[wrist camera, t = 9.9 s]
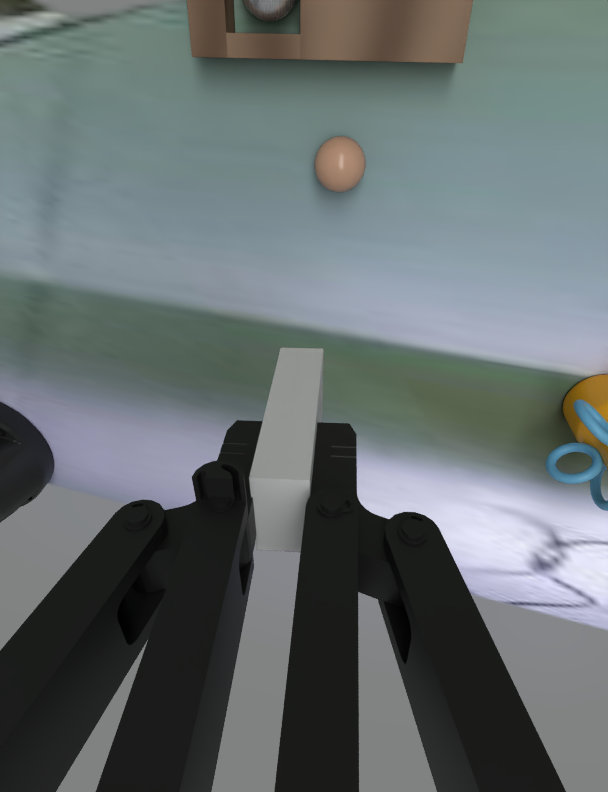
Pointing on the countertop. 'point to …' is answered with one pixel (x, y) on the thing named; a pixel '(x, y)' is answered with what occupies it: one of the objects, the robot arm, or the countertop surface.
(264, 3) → the steel ball
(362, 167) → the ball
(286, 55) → the hole plate
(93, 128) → the countertop surface
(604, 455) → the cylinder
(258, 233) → the countertop surface
